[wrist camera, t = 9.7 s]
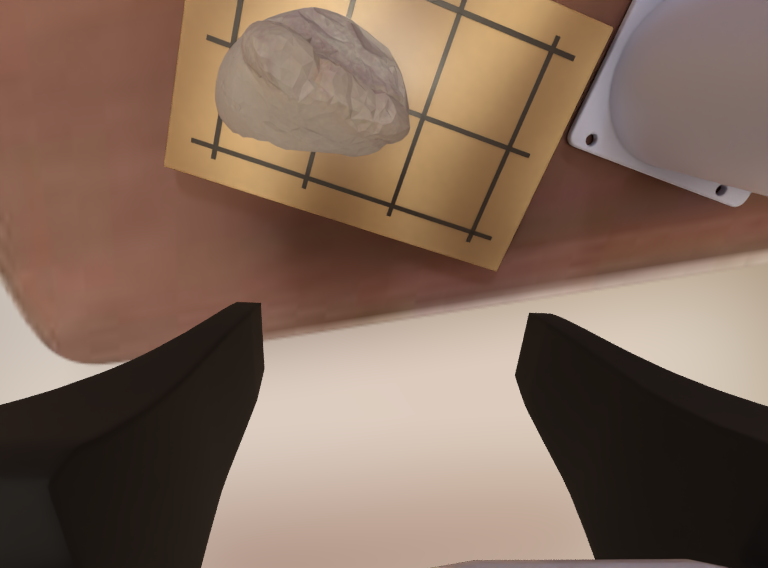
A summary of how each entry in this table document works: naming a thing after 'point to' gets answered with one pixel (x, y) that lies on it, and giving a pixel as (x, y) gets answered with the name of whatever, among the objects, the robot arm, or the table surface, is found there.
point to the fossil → (313, 85)
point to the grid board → (426, 115)
